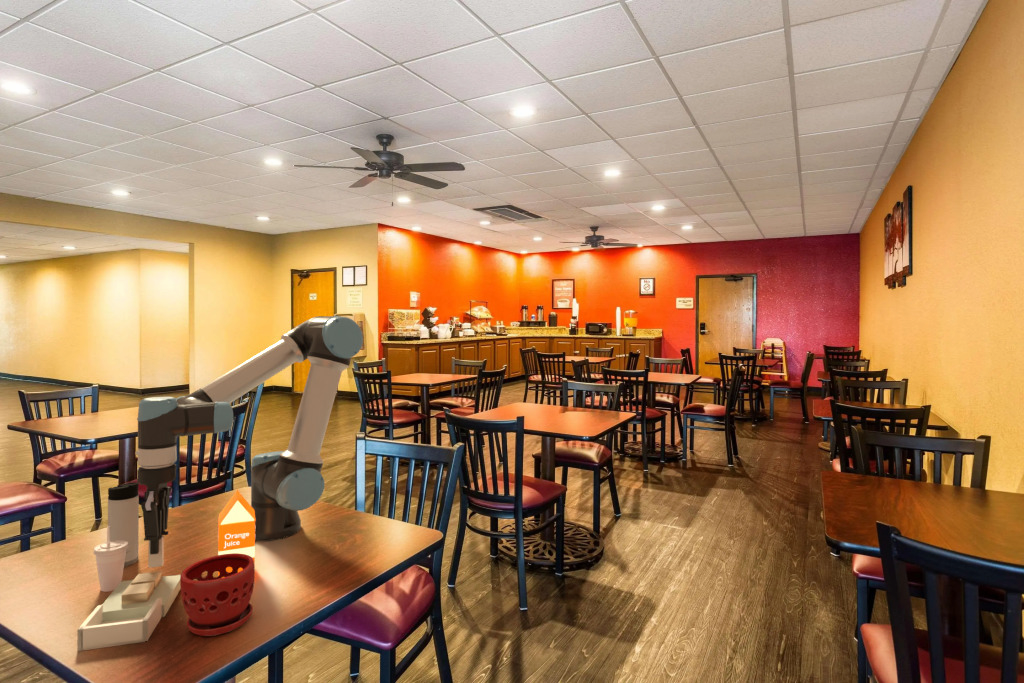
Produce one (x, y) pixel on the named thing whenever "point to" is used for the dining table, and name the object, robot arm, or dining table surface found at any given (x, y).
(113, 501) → the travel mug
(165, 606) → the board
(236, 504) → the orange juice
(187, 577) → the plant pot
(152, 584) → the tile front
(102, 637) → the tray
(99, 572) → the smoothie
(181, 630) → the dining table surface
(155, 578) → the tile rear
